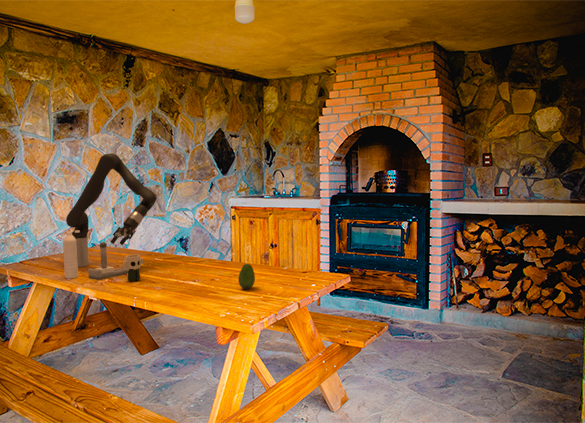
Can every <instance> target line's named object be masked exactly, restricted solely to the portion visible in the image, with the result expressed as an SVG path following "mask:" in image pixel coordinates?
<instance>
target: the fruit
mask: <svg viewBox="0 0 585 423" xmlns="http://www.w3.org/2000/svg"><path fill="white" fill-rule="evenodd" d="M255 282H256V275H255V272H254V268H253V266H252V265H251V264H249V263H245V264H243V266H242V267H241V269H240V271H239V275H238V285H239V286H240V288H242V289H243V290H249V289H251V288H252V287H253V286H254V285H255Z"/></svg>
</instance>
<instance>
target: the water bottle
mask: <svg viewBox="0 0 585 423" xmlns="http://www.w3.org/2000/svg"><path fill="white" fill-rule="evenodd" d="M79 232H80V231H75V233H79ZM76 247H77V246H76V239H75V238H74V236H73V235H72V231H66V235H65V236H64V237H63V240H62V248H63V250H62V251H63V265H64V266H63V269H64V278H65V279H69V280H70V279H76V278H78V277H79V272H78V271H79V269H78V268H79V267H78V262H77V248H76Z"/></svg>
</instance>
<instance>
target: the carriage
mask: <svg viewBox="0 0 585 423" xmlns="http://www.w3.org/2000/svg"><path fill="white" fill-rule="evenodd" d="M107 246H108V244H107V243H106V242H105V241H102V242H100V243H99V248H100V252H99V253H100V267H95V268H94V269H95V270H99V271H100V274H104V273H109V272H114V269H115V268H114V267H113V266H108V252H107Z"/></svg>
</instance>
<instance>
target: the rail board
mask: <svg viewBox="0 0 585 423" xmlns="http://www.w3.org/2000/svg"><path fill="white" fill-rule="evenodd" d="M138 269H139V270H140V267H139V268H138ZM128 270H129V269H128V268H126V267H119V268H114V272H109V273H104V274H100V271H99V270H95V268H94V269H93V268H88V269H87V271H88V279H91V280H94V281H100V280H106V279H110V278H115V277H119V276H122V275H123V274H124V275H128V274H127V273H128Z"/></svg>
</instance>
